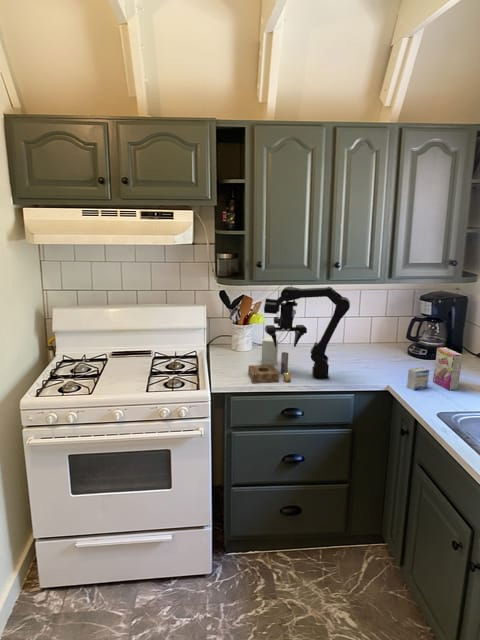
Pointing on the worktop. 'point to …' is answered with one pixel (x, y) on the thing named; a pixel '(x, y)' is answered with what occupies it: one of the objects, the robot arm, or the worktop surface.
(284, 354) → the long pin
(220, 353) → the worktop surface
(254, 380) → the hole block
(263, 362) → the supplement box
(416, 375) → the medicine box
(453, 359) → the candy bar box
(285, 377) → the short pin
